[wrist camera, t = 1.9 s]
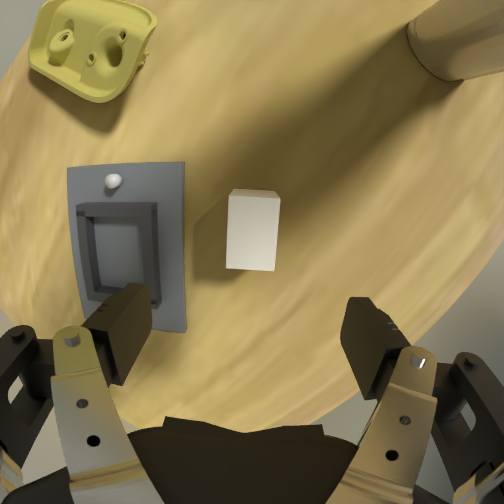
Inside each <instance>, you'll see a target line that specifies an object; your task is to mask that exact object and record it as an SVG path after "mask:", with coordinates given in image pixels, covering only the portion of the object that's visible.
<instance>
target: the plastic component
mask: <svg viewBox="0 0 504 504" xmlns="http://www.w3.org/2000/svg"><path fill="white" fill-rule="evenodd" d="M157 22H158V21H157V18H156V16H155V15H154V14H153V13H152V12H150V11H149V10H147V9H145V8H143V7H141V6H139V5H136V4H133V3H129V2H126V1H122V0H51V1H47V2H46V3H44V4H43V5H42V6H41V8H40V10H39V13H38V16H37V20H36V22H35V26H34V29H33V33H32V37H31V40H30V44H29V49H28V62H29V65H30V67H31V68H32V69H34V70H36V71H38V72H39V73H41V74H43V75H44V76H46V77H48V78H50V79H51V80H53V81H55V82H56V83H58V84H60V85H61V86H63V87H65V88H66V89H68V90H70V91H71V92H73V93H75V94H76V95H78V96H80V97H82V98H84V99H86V100H89V101H91V102H96V103H103V102H107V101H110V100H112V99H114V98H115V97H117V96H118V95H119V94H121V93H122V92H123V91H124V90H125V89H126V88H127V86H128V85H129V84H130V82H131V80H132V78H133V77H134V75H135V72H136V70H137V68H138V66H141V65H144V64H145V63H144V60H145V58H146V56H147V55H149V52H147V49H146V45H147V42H148V40H149V38H150V36H151V34H152V33H153V31H154V29H155V27H156V25H157ZM124 33H126V36H125V38H123V35H124ZM65 38H67V39H66V40H64V39H65ZM63 40H64V41H63Z"/></svg>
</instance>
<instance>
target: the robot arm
mask: <svg viewBox="0 0 504 504" xmlns="http://www.w3.org/2000/svg"><path fill="white" fill-rule="evenodd" d="M407 35H408V40H409V43H410V46H411V48H412V50H413V52H414V54H415V56H416V57H417V58H418V60H419V61H420V62H421V64H422V65H423V66H424V67H425V68H426V69H427V70H428V71H430V72H431V73H432V74H433V75H435V76H436V77H438V78H440V79H443V80H446V81H455V80H459V79H463V80H469V79H473V78H477V77H481V76H485V75H489V74H494V73H499V72H504V0H439V1H438V2H436V3H435V4H434V5H432V6H431V7H429V8H428V9H427V10H425V11H424V12H422V13H421V14H420V15H418V16H417V17H416V18H414V19H413V20H412V21H411V22H410V23H409V25H408V29H407ZM151 329H152V310H151V301H150V291H149V286H148V284H144V283H134V282H129V283H128V284H127V285H126V286H125V287H124V288H123V289H122V290H121V292H120V293H119V292H117V293H115V294H113V295H111V296H109V297H107V298H106V299H105V301H104V302H103V303H102V304H101V305H100V306H99V307H98V308H97V309H96V311H94V312H93V313H92V315H91V316H90V317H89V318H88V319H87V320H86V321H85V322H84V323H83V324H82V326H70V327H66V328H64V329H62V330H60V331H58V332H57V333H56V334H55V336H54V338H53V340H51V339H37V337H36V334H35V331H34V329H33V328H32V327H30V326H27V325H20V326H16V327H13V328H11V329H10V330H8V331H7V332H6V333H5V334H4V335H3V336H2V337H1V338H0V504H450V503H448V502H446V501H444V500H442V499H440V498H438V497H437V496H435V495H433V494H432V493H430V492H428V491H426V490H425V489H423V488H421V487H420V486H418V485H416V484H415V483H416V480H417V477H418V474H419V471H420V468H421V465H422V462H423V459H424V455H425V451H426V448H427V445H428V441H429V437H430V433H431V434H432V437H433V439H434V441H435V444H436V446H437V448H438V451H439V453H440V456H441V458H442V460H443V463H444V466H445V468H446V471H447V473H448V476H449V479H450V481H451V484H452V487H453V490H454V492H455V494H454V498H453V504H504V387H503V385H502V384H501V383H500V381H499V380H498V379H497V377H496V376H495V375H494V374H493V372H492V371H491V370H490V369H489V367H488V366H487V365H486V364H485V362H484V361H483V360H482V359H481V358H480V357H478V356H477V355H475V354H472V353H469V352H461V353H459V354H458V355H457V356H456V358H455V360H454V362H453V364H447V363H437V360H436V357H435V356H434V355H433V354H432V353H431V352H430V351H428V350H426V349H424V348H422V347H417V346H411V345H410V343H409V342H408V340H407V339H406V338H405V336H404V335H403V334H402V332H401V331H400V330H398V327H397V326H396V324H394V322H393V321H392V319H391V318H390V317H389V315H387V314H386V313H384V312H383V311H382V310H380V309H377V308H376V306H375V305H374V304H373V302H372V301H371V300H370V298H368V297H350V298H349V300H348V303H347V307H346V312H345V316H344V320H343V324H342V328H341V333H340V340H341V345H342V347H343V350H344V352H345V354H346V357H347V359H348V361H349V364H350V366H351V368H352V371H353V373H354V376H355V378H356V380H357V383H358V385H359V388H360V390H361V393H362V395H363V397H364V400H371V399H377V401H378V403H377V405H376V407H375V408H374V410H373V413H372V415H371V417H370V419H369V421H368V423H367V425H366V426H365V429H364V431H363V432H362V434H361V436H360V438H359V440H358V441H357V443H356V445H355V444H353V443H351V442H349V441H346V440H343V439H340V438H337V437H333V436H329V435H324V432H323V427H322V424H320V425H300V426H281V427H277V428H271V429H266V430H261V431H255V432H248V433H241V432H237V431H233V430H229V429H226V428H222V427H219V426H216V425H212V424H209V423H206V422H202V421H193V420H186V419H179V418H173V417H167V416H165V419H164V423H163V426H162V427H151V428H145V429H140V430H137V431H134V432H131V433H129V434H126V432H125V430H124V427H123V425H122V422H121V420H120V418H119V415H118V413H117V410H116V408H115V405H114V403H113V400H112V398H111V395H110V392H109V390H108V388H109V386H110V384H111V383H112V384H116V385H120V386H123V384H124V382H125V380H126V378H127V376H128V374H129V372H130V370H131V368H132V366H133V364H134V362H135V360H136V358H137V356H138V355H139V353H140V351H141V349H142V347H143V345H144V343H145V341H146V340H147V338H148V336H149V334H150V332H151ZM18 376H19V378H20V380H21V382H22V384H23V387H22V389H21V390H20V391H19V393H18V394H17V396H16V397H15V399H14V400H13V401H12V403H11V404H10V403H9V400H8V390H9V388H10V386H11V385H12V384H13V382H14V381H15V380H16V378H17V377H18ZM467 402H468V404H469V405H470V407H471V409H472V410H473V412H474V414H475V416H476V424H475V427H474V428H473V430H472V431H471V430H470V428H469V426H468V425H467V423H466V421H465V419H464V417H463V416H462V414H461V411H462V409H463V408H464V406H465V405H466V403H467ZM53 406H54V410H55V416H56V421H57V427H58V431H59V436H60V441H61V445H62V449H63V453H64V457H65V460H66V464H67V466H66V467H64V468H62V469H60V470H58V471H56V472H54V473H51V474H50V475H47V476H45V477H42V478H40V479H38V480H36V481H33V482H31V483H28V484H26V485H24V484H23V483H22V479H23V477H22V472H21V468H22V466H23V464H24V462H25V460H26V458H27V456H28V454H29V452H30V450H31V448H32V445H33V443H34V441H35V440H36V437H37V436H38V434H39V432H40V430H41V428H42V426H43V424H44V422H45V420H46V419H47V417H48V415H49V413H50V411H51V410H52V408H53Z"/></svg>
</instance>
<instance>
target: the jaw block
mask: <svg viewBox="0 0 504 504" xmlns="http://www.w3.org/2000/svg"><path fill="white" fill-rule="evenodd" d="M279 212H280V197H279V196H278V195H277V193H276V192H275V191H268V190H252V189H233V191H232V192H231V193H230V195H229V203H228V226H227V253H226V268H230V269H247V270H264V271H274V268H275V257H276V246H277V235H278V224H279Z"/></svg>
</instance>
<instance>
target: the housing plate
mask: <svg viewBox="0 0 504 504" xmlns="http://www.w3.org/2000/svg"><path fill="white" fill-rule="evenodd" d="M184 174H185V162H147V163H122V164H105V165H91V166H79V167H70V168H67V191H68V211H69V224H70V234H71V243H72V251H73V258H74V265H75V271H76V277H77V283H78V288H79V293H80V298H81V303H82V308H83V312H84V316H85V318H86V319H88V318H89V317H90V316H91V315H92V313H93V312H94V311H96V309H97V308H98V307H99V306H100V305H101V304H102V303H103V302H104V301H105V299H106V298H107V297H109V296H111V295H113V294H115V293H117V292H119V293H120V292H121V290H122V289H123V288H124V287H125V286H126V285H127V284H128V283H129V282H134V283H144V284H148V286H149V291H150V301H151V310H152V329H153V330H161V331H169V332H178V333H186V330H187V320H186V302H185V277H184Z"/></svg>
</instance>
